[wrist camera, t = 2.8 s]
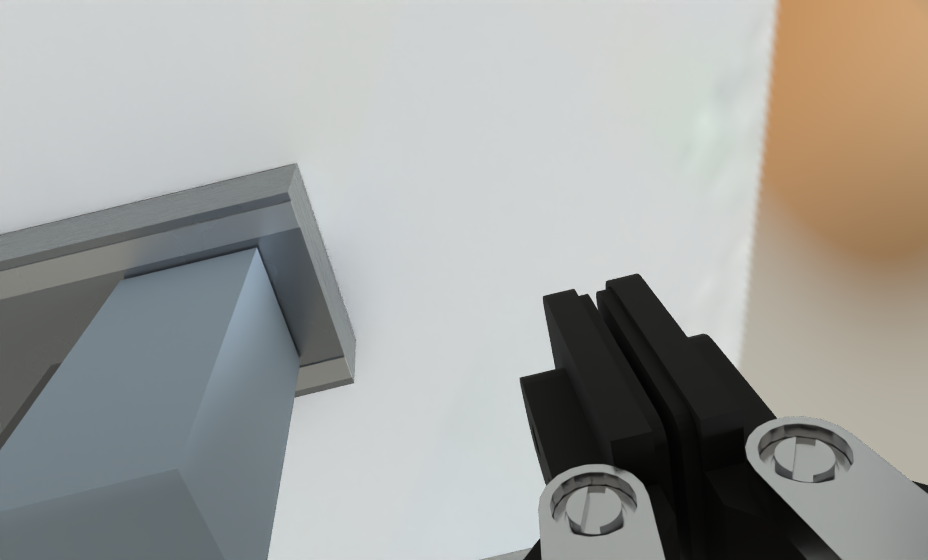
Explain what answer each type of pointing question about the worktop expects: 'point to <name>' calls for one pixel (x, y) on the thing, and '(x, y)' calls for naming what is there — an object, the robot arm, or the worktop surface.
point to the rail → (163, 247)
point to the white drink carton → (511, 555)
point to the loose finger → (157, 425)
